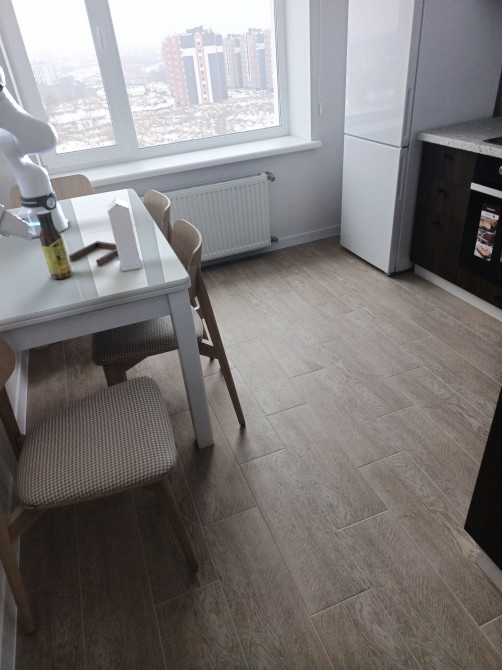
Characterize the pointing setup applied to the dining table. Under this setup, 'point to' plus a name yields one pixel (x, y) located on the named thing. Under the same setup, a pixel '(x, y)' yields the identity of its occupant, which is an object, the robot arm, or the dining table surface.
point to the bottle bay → (93, 247)
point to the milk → (124, 235)
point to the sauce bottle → (53, 247)
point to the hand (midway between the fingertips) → (19, 235)
